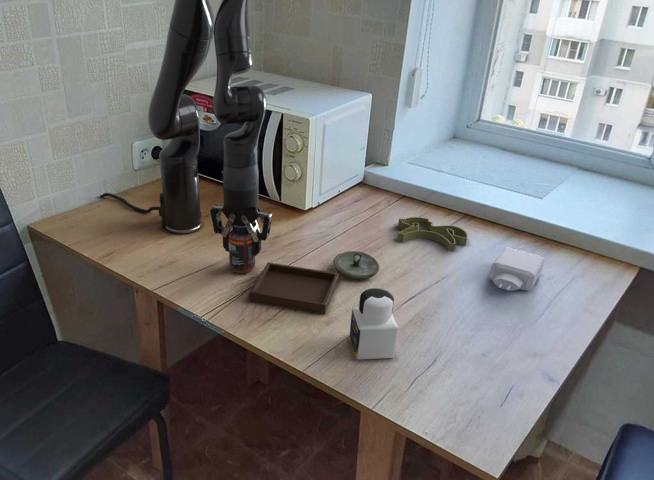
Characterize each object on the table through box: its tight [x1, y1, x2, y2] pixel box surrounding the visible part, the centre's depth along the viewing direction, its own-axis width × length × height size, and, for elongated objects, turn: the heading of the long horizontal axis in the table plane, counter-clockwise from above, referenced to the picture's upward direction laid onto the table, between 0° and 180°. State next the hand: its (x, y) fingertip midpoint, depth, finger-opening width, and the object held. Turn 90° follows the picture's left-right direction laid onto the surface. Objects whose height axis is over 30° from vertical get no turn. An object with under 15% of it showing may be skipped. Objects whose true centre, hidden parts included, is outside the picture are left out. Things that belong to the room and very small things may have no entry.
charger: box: [488, 247, 545, 292], centre depth 135 cm, size 5×9×15 cm
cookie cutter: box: [397, 216, 468, 252], centre depth 155 cm, size 18×12×2 cm, turn 66°
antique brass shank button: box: [332, 250, 380, 280], centre depth 139 cm, size 11×10×5 cm
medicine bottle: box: [348, 287, 399, 361], centre depth 112 cm, size 7×7×12 cm
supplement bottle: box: [228, 225, 256, 274], centre depth 138 cm, size 6×6×11 cm
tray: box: [248, 262, 340, 315], centre depth 132 cm, size 16×13×2 cm
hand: (241, 251), depth 138 cm, fingers closed on supplement bottle, 6 cm apart
